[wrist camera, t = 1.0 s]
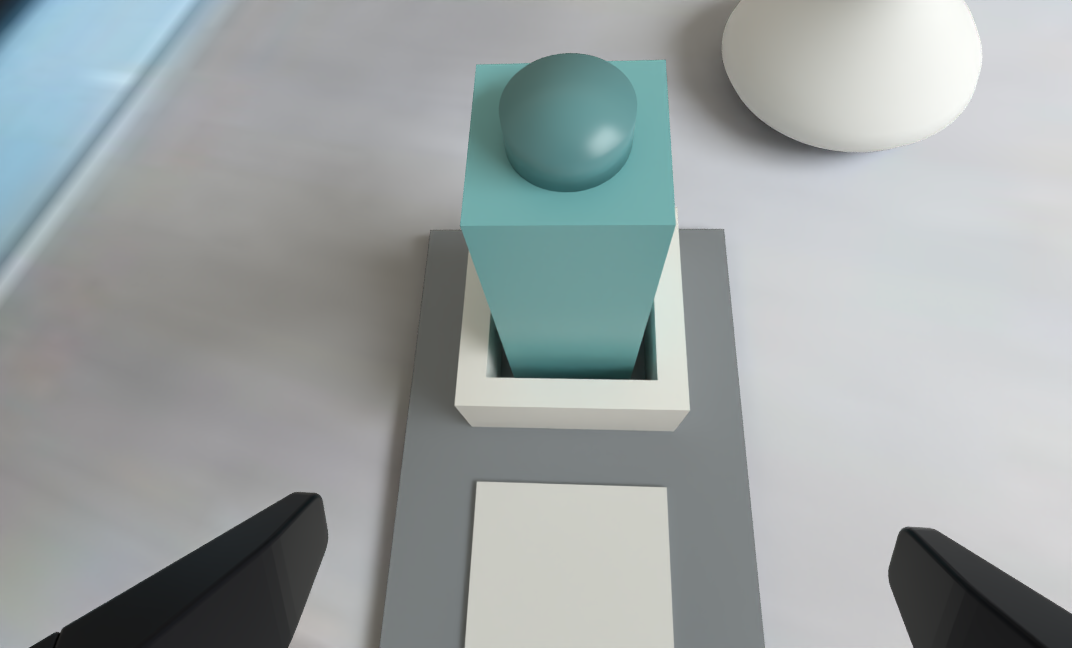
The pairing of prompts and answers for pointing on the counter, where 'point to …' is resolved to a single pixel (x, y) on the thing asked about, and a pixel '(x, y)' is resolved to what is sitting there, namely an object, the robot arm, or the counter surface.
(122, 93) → the counter surface
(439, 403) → the grey board with socket
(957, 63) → the flower in vase
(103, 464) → the counter surface
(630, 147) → the plug
